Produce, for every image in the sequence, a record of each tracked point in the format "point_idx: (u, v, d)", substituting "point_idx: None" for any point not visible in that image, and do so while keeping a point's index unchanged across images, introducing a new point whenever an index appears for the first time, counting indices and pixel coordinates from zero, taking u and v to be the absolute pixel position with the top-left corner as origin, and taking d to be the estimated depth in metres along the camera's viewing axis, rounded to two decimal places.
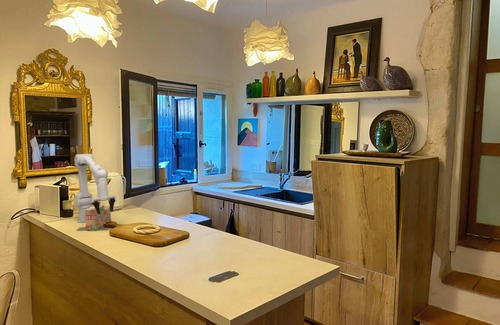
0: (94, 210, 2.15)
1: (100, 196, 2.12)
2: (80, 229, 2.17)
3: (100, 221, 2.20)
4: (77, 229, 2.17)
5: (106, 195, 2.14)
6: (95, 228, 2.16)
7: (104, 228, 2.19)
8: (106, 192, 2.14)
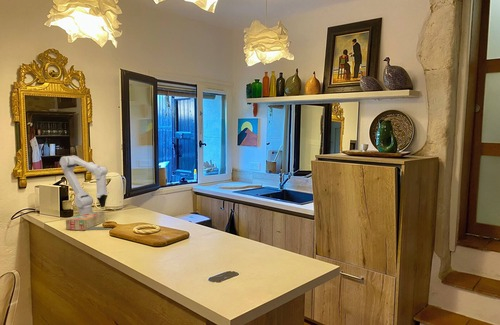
0: (66, 220, 2.17)
1: (103, 191, 2.30)
2: None
3: (83, 217, 2.20)
4: None
5: (106, 190, 2.33)
6: (82, 221, 2.15)
7: (104, 228, 2.19)
8: (106, 188, 2.33)
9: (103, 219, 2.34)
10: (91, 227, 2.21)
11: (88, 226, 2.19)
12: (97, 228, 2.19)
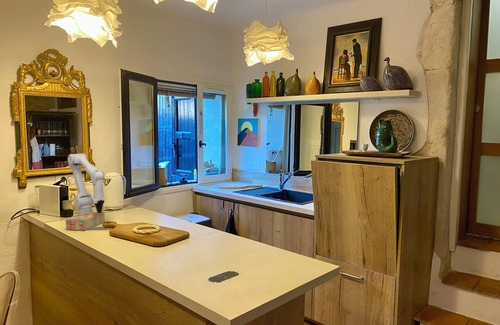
0: (66, 220, 2.17)
1: (100, 197, 2.24)
2: None
3: (83, 217, 2.20)
4: None
5: (103, 196, 2.27)
6: (82, 221, 2.15)
7: (104, 228, 2.19)
8: None
9: (103, 219, 2.34)
10: (91, 227, 2.21)
11: (88, 226, 2.19)
12: (97, 228, 2.19)
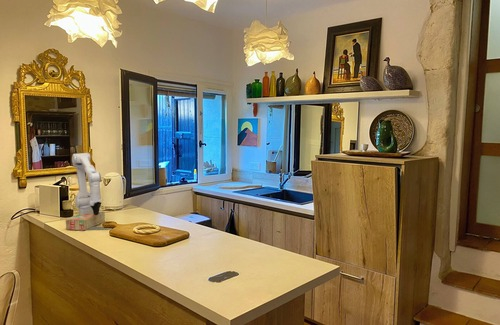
0: (66, 220, 2.17)
1: (96, 199, 2.18)
2: None
3: (83, 217, 2.20)
4: None
5: (100, 198, 2.21)
6: (82, 221, 2.15)
7: (104, 228, 2.19)
8: None
9: (103, 219, 2.34)
10: (91, 227, 2.21)
11: (88, 226, 2.19)
12: (97, 228, 2.19)
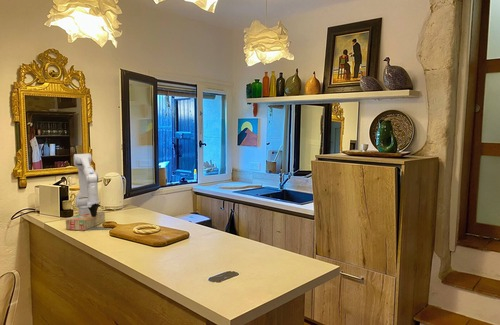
0: (66, 220, 2.17)
1: (94, 200, 2.14)
2: None
3: (83, 217, 2.20)
4: None
5: (98, 199, 2.17)
6: (82, 221, 2.15)
7: (104, 228, 2.19)
8: (97, 196, 2.17)
9: (103, 219, 2.34)
10: (91, 227, 2.21)
11: (88, 226, 2.19)
12: (97, 228, 2.19)
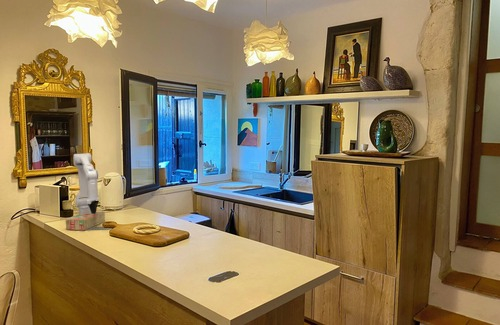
0: (66, 220, 2.17)
1: (94, 197, 2.13)
2: None
3: (83, 217, 2.20)
4: None
5: (97, 196, 2.17)
6: (82, 221, 2.15)
7: (104, 228, 2.19)
8: (97, 193, 2.17)
9: (103, 219, 2.34)
10: (91, 227, 2.21)
11: (88, 226, 2.19)
12: (97, 228, 2.19)
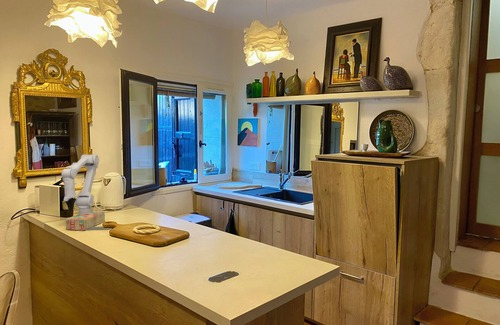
0: (66, 220, 2.17)
1: (71, 194, 2.19)
2: None
3: (83, 217, 2.20)
4: None
5: None
6: (82, 221, 2.15)
7: (104, 228, 2.19)
8: (74, 190, 2.23)
9: (103, 219, 2.34)
10: (91, 227, 2.21)
11: (88, 226, 2.19)
12: (97, 228, 2.19)
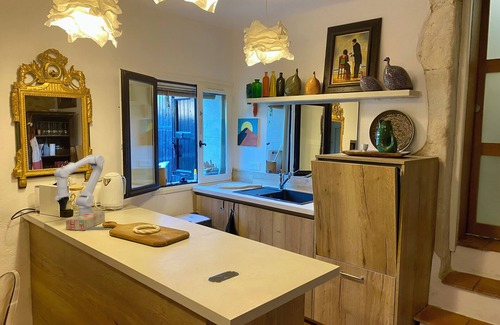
0: (66, 220, 2.17)
1: (63, 194, 2.21)
2: None
3: (83, 217, 2.20)
4: None
5: (67, 193, 2.24)
6: (82, 221, 2.15)
7: (104, 228, 2.19)
8: (67, 190, 2.24)
9: (103, 219, 2.34)
10: (91, 227, 2.21)
11: (88, 226, 2.19)
12: (97, 228, 2.19)
